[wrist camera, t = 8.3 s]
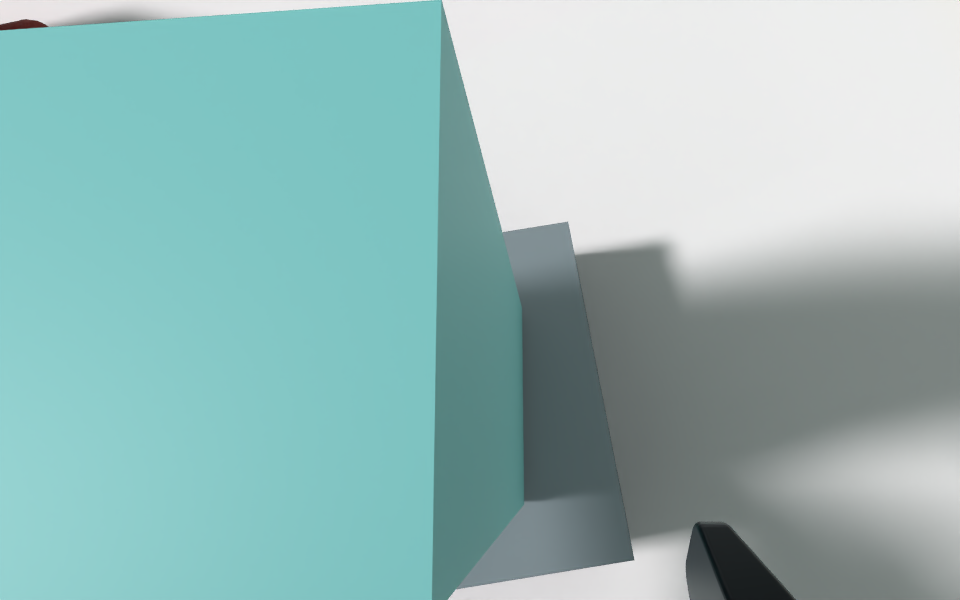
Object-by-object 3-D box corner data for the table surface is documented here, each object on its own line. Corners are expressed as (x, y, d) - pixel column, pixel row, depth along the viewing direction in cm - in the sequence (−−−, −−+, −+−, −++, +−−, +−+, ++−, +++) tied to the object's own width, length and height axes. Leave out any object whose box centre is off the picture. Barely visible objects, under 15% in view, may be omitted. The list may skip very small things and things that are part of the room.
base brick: (610, 541, 22) (634, 560, 18) (319, 589, 22) (278, 618, 18) (557, 260, 24) (567, 221, 20) (290, 303, 24) (247, 273, 20)
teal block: (524, 504, 18) (432, 619, 5) (329, 502, 18) (-192, 601, 6) (521, 308, 19) (441, 0, 6) (338, 311, 19) (-83, 36, 7)
